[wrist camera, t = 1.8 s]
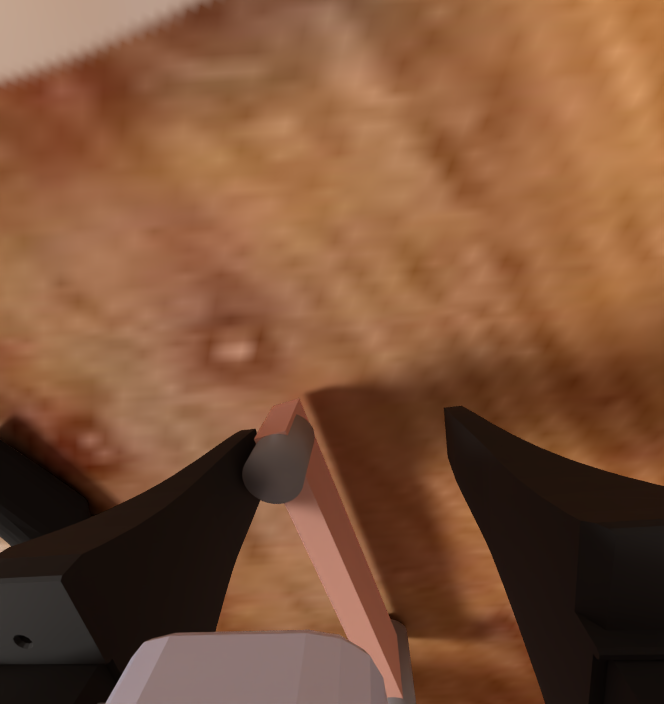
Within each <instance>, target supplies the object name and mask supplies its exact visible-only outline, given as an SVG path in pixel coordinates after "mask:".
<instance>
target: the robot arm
mask: <svg viewBox="0 0 664 704" xmlns="http://www.w3.org/2000/svg"><path fill="white" fill-rule="evenodd" d="M444 415H445V428H446V441H447V454H448V459H449V462H450V465H451V468H452V471H453V473H454V476H455V479H456V482H457V484H458V486H459V488H460V490H461V492H462V494H463V496H464V498H465V500H466V502H467V504H468V506H469V508H470V510H471V512H472V514H473V516H474V518H475V520H476V522H477V524H478V526H479V528H480V530H481V532H482V534H483V536H484V539H485V541H486V543H487V545H488V547H489V550H490V552H491V554H492V557H493V559H494V562H495V564H496V567H497V570H498V572H499V575H500V578H501V580H502V583H503V585H504V588H505V591H506V593H507V596H508V599H509V602H510V604H511V607H512V610H513V612H514V615H515V618H516V621H517V623H518V626H519V629H520V632H521V635H522V637H523V640H524V643H525V646H526V649H527V652H528V654H529V657H530V660H531V663H532V666H533V669H534V671H535V674H536V677H537V680H538V683H539V686H540V689H541V692H542V695H543V698H544V701H545V704H664V486H661V485H657V484H653V483H649V482H645V481H641V480H637V479H633V478H629V477H625V476H621V475H618V474H614V473H611V472H607V471H604V470H601V469H597V468H594V467H591V466H588V465H585V464H582V463H579V462H576V461H573V460H570V459H567V458H565V457H562V456H560V455H557V454H555V453H552V452H550V451H547V450H545V449H542V448H540V447H538V446H535V445H533V444H531V443H529V442H527V441H525V440H523V439H521V438H518V437H516V436H514V435H512V434H510V433H509V432H507V431H505V430H503V429H501V428H499V427H497V426H496V425H494V424H492V423H490V422H489V421H487V420H485V419H484V418H482V417H480V416H478V415H477V414H475V413H473V412H472V411H470V410H468V409H466V408H465V407H463V406H456V407H447V408H444ZM256 435H257V432H256V429H250V430H241V431H239V432H237V433H235V434H234V435H232V436H231V437H229V438H228V439H226V440H225V441H223V442H222V443H220V444H219V445H218V446H216V447H215V448H213V449H212V450H210V451H209V452H208V453H206V454H205V455H203V456H202V457H201V458H199V459H198V460H196V461H195V462H193V463H192V464H190V465H188V466H187V467H185V468H184V469H182V470H181V471H179V472H178V473H176V474H175V475H173V476H172V477H170V478H168V479H167V480H165V481H163V482H162V483H160V484H158V485H156V486H154V487H153V488H151V489H149V490H147V491H145V492H144V493H142V494H140V495H138V496H136V497H134V498H132V499H129V500H127V501H125V502H123V503H121V504H119V505H117V506H115V507H113V508H111V509H109V510H107V511H104V512H102V513H100V514H97V515H95V516H93V517H90V518H88V519H86V520H83V521H81V522H78V523H76V524H73V525H71V526H68V527H65V528H63V529H60V530H58V531H55V532H52V533H49V534H46V535H43V536H40V537H37V538H35V539H32V540H29V541H26V542H23V543H20V544H17V545H14V546H11V547H9V548H7V549H5V550H4V551H3V552H1V553H0V704H389V703H388V700H387V695H386V690H385V684H384V679H383V676H382V675H381V673H380V671H379V670H378V668H377V666H376V665H375V663H374V661H373V660H372V658H371V656H370V655H369V654H368V653H367V652H366V651H365V650H364V649H363V648H361V647H359V646H357V645H356V644H354V643H352V642H351V641H349V640H347V639H345V638H344V637H342V636H340V635H337V634H331V633H324V632H318V631H312V630H283V631H236V632H215V631H216V627H217V623H218V620H219V616H220V612H221V609H222V605H223V601H224V598H225V594H226V591H227V588H228V584H229V581H230V577H231V574H232V571H233V568H234V565H235V562H236V559H237V556H238V554H239V551H240V549H241V546H242V544H243V541H244V539H245V537H246V534H247V532H248V529H249V527H250V524H251V522H252V519H253V517H254V514H255V512H256V509H257V507H258V504H259V502H260V499H258V498H256V497H255V496H253V495H252V494H251V493H250V492H249V491H248V489H247V488H246V486H245V484H244V482H243V477H242V471H243V467H244V465H245V463H246V461H247V459H248V458H249V456H250V454H251V452H252V450H253V449H254V447H255V445H256V443H255V441H254V438H255V436H256Z"/></svg>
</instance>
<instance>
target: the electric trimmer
mask: <svg viewBox="0 0 664 704" xmlns="http://www.w3.org/2000/svg"><path fill="white" fill-rule="evenodd" d="M90 517H91V516H90V512H89V507H88V503H87V500H86V499H85V498H84V497H82V496H81V495H80V494H78V493H77V492H75V491H74V490H73V489H71V488H70V487H68V486H67V485H66V484H64V483H63V482H62V481H60V480H59V479H57V478H56V477H55V476H53V475H52V474H50V473H49V472H47V471H46V470H44V469H43V468H41V467H40V466H38V465H37V464H36V463H34V462H33V461H31V460H30V459H28V458H27V457H25V456H24V455H22V454H21V453H19V452H18V451H16V450H15V449H13V448H12V447H10V446H9V445H7V444H6V443H4V442H3V441H2V440H0V537H1V538H3V539H4V540H5V541H6V542H7V543H8V544H9V545H10V546H14V545H17V544H20V543H23V542H26V541H29V540H32V539H35V538H37V537H40V536H43V535H46V534H49V533H52V532H55V531H58V530H60V529H63V528H65V527H68V526H71V525H73V524H76V523H78V522H81V521H83V520H86V519H88V518H90Z"/></svg>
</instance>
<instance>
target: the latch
mask: <svg viewBox="0 0 664 704" xmlns="http://www.w3.org/2000/svg"><path fill="white" fill-rule="evenodd" d="M254 441H255V443H256V445H255V447H254V449H253V450H252V452H251V454H250V456H249V458H248V459H247V461H246V463H245V465H244V467H243V471H242V477H243V482H244V484H245V486H246V488H247V489H248V491H249V492H250V493H251V494H252V495H253V496H255V497H256V498H258V499H260V500H262V501H264V502H267V503H272V504H281V503H284V504H285V506H286V508H287V510H288V513H289V515H290V517H291V519H292V521H293V523H294V525H295V527H296V529H297V532H298V534H299V536H300V538H301V540H302V542H303V544H304V546H305V548H306V551H307V553H308V555H309V557H310V559H311V561H312V563H313V565H314V567H315V570H316V572H317V574H318V576H319V578H320V580H321V582H322V584H323V587H324V589H325V591H326V593H327V595H328V597H329V599H330V601H331V603H332V606H333V608H334V610H335V612H336V614H337V616H338V618H339V620H340V622H341V625H342V627H343V629H344V631H345V633H346V635H347V637H348V639H349V641H351V642H352V643H354V644H356V645H357V646H359V647H361V648H363V649H364V650H365V651H366V652H367V653H368V654H369V655H370V656H371V658H372V660H373V661H374V663H375V665H376V666H377V668H378V670H379V671H380V673H381V675H382V676H383V679H384V684H385V690H386V695H387V700H388V703H389V704H416V699H415V691H414V683H413V675H412V667H411V659H410V651H409V643H408V636H407V629H406V627H405V626H404V625H403V624H402V623H400V622H398V621H396V620H392V619H390V617H389V615H388V612H387V610H386V607H385V605H384V603H383V600H382V598H381V595H380V593H379V590H378V588H377V586H376V583H375V581H374V578H373V576H372V574H371V571H370V569H369V566H368V564H367V561H366V559H365V557H364V554H363V552H362V549H361V547H360V544H359V542H358V540H357V537H356V535H355V532H354V530H353V527H352V525H351V523H350V520H349V518H348V515H347V513H346V511H345V508H344V506H343V503H342V501H341V498H340V496H339V494H338V491H337V489H336V486H335V484H334V481H333V479H332V477H331V474H330V472H329V469H328V467H327V465H326V462H325V460H324V457H323V455H322V452H321V450H320V448H319V445H318V443H317V440H316V438H315V435H314V430H313V428H312V426H311V424H310V423H309V421H308V418H307V416H306V414H305V411H304V409H303V406H302V404H301V402H300V399H295V400H292V401H288V402H285V403H282V404H278V405H275V406H273V407H272V409H271V410H270V412H269V414H268V416H267V417H266V419H265V421H264V423H263V424H262V426H261V428H260V429H259V431H258V433H257V435H256V436H255V438H254Z"/></svg>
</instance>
